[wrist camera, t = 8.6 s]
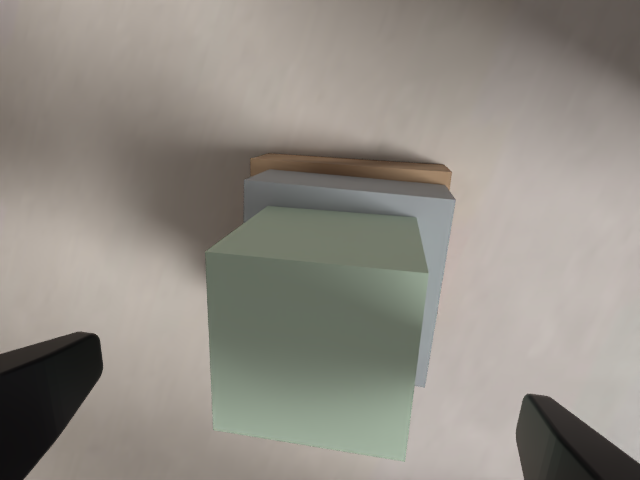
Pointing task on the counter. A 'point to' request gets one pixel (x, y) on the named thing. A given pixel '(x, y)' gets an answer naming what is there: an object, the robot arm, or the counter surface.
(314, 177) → the blue-grey square block
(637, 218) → the counter surface
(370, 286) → the stack block
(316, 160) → the tower base
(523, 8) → the counter surface
